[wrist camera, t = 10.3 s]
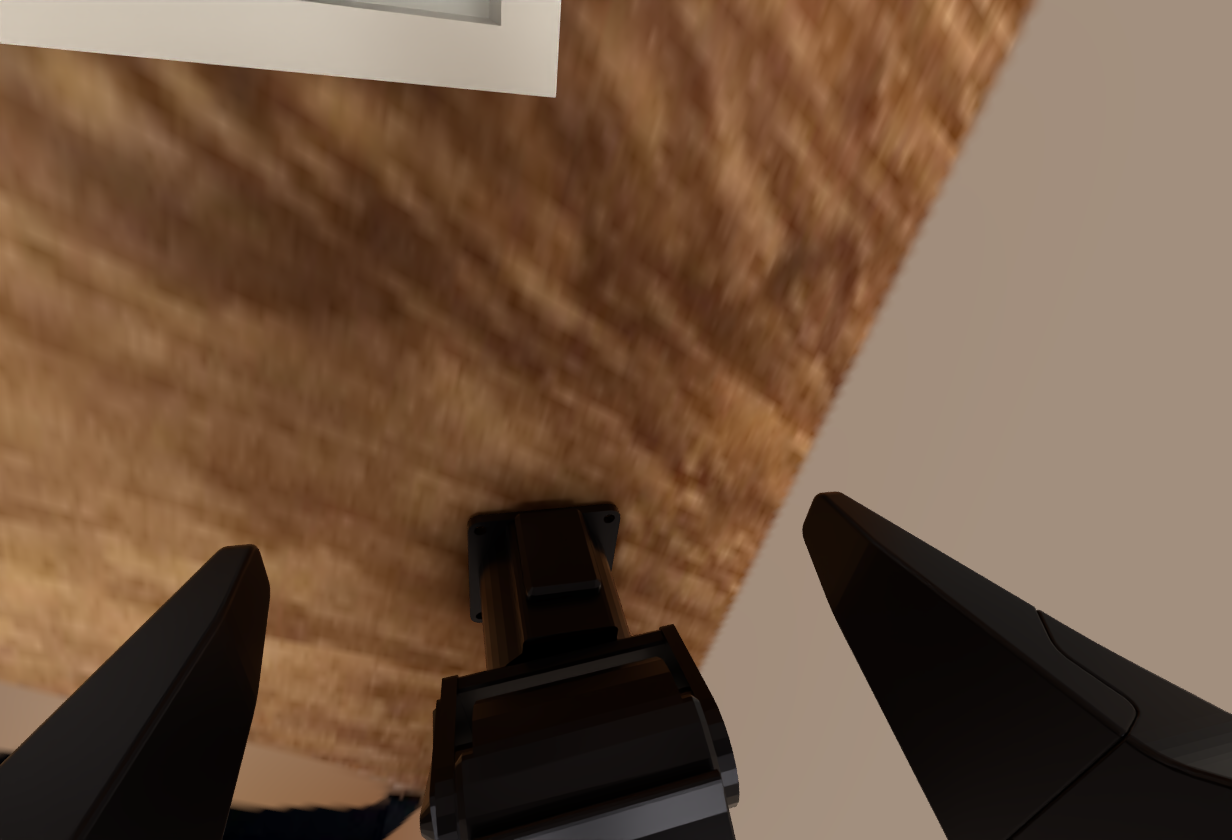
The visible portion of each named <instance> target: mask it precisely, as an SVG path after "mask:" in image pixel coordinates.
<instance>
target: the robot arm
mask: <svg viewBox="0 0 1232 840" xmlns="http://www.w3.org/2000/svg"><path fill="white" fill-rule="evenodd" d="M607 515H610V516H608V517H605V516H607ZM619 522H620V513H619V511H618V508H617V507H616V506H615V505H613V504H604V505H593V506H581V507H569V508H558V509H546V510H535V511H523V512H512V513H500V514H489V515H479V516H475V517H473V518H471V519H470V520H469V521H468V525H467V529H468V562H469V595H470V617H471V620H472V621H474V622H477V623H482V622H483V633H484V644H485V656H486V667H487V671H483V672H478V673H474V674H470V675H466V676H462V677H458V675H455V676H450V677H446V678H442V687H441V699H440V700H437V703H436V709H435V710H434V711H433V753H432V763H431V768H430V772H429V777H428V781H427V786H426V790H425V795H424V799H423V804H422V808H421V814H420V830H421V834H422V836H423V837H424V838H425V839H426V840H736V839H735V835H734V830H733V825H732V821H731V817H730V812H729V808H732V807H736V806H737V804H738V802H739V782H738V775H737V768H736V764H735V760H734V755H733V751H732V747H731V744H730V740H729V736H728V734H727V730H726V727H725V724H724V721H723V719H722V716H721V714H720V711H719V709H718V706H717V704H716V703H715V700H714V698H713V696H712V695H711V692H710V691H709V689H708V687H707V685H706V683H705V681H704V680H703V678H702V676H701V674H700V672H699V670H698V668H697V667H696V665H695V663H694V661H693V659H692V657H691V655H690V654H689V652H688V650H687V648H686V646H685V644H684V643H683V641H682V639H681V637H680V635H679V633H678V631H677V630H676V628H675V626H674V624H671V625H667V626H662V627H660V628H659V630H656V631H652V632H647V633H643V634H639V635H635V636H631V635H630V632H629V629H628V625H627V622H626V619H625V616H624V612H623V609H622V606H621V603H620V600H619V596H618V593H617V590H616V587H615V583H614V580H613V577H612V574H611V571H612V565H613V559H614V553H615V546H616V540H617V534H618V528H619ZM480 526H482V527H483V528H477V527H480ZM802 530H803V538H804V541H805V544H806V546H807V549H808V551H809V554H810V557H811V559H812V562H813V564H814V567H815V569H816V572H817V575H818V577H819V580H820V582H821V585H822V587H823V590H824V592H825V595H826V598H827V600H828V603H829V605H830V607H831V610H832V612H833V614H834V616H835V619H836V621H837V623H838V625H839V627H840V629H841V631H842V633H843V635H844V637H845V639H846V640H847V643H848V645H849V646H850V648H851V650H852V652H853V654H854V656H855V658H856V660H857V662H858V664H859V666H860V668H861V670H862V672H863V674H864V676H865V678H866V680H867V682H868V684H869V686H870V688H871V690H872V691H873V694H874V696H875V698H876V699H877V701H878V703H879V705H880V707H881V709H882V711H883V713H884V715H885V717H886V719H887V721H888V723H889V725H890V727H891V729H892V731H893V733H894V735H895V737H896V739H897V741H898V742H899V745H900V746H901V749H902V751H903V752H904V754H905V756H906V758H907V760H908V762H909V764H910V766H911V768H912V770H913V772H914V774H915V776H916V778H917V780H918V782H919V784H920V786H921V788H922V790H923V792H924V794H925V795H926V798H927V800H928V802H929V804H930V806H931V808H932V810H933V811H934V813H935V815H936V817H937V819H938V821H939V823H940V825H941V827H942V829H943V831H944V833H945V835H946V837H947V839H948V840H1232V714H1230V713H1228V712H1226V711H1224V710H1222V709H1220V708H1218V707H1216V706H1215V705H1213V704H1211V703H1209V702H1207V701H1205V700H1203V699H1201V698H1199V697H1197V696H1196V695H1194V694H1192V693H1190V692H1188V691H1186V690H1184V689H1182V688H1180V687H1178V686H1176V685H1175V684H1172V683H1171V682H1169V681H1167V680H1165V679H1163V678H1161V677H1159V676H1157V675H1156V674H1154V673H1152V672H1150V671H1148V670H1146V669H1144V668H1142V667H1140V666H1138V665H1136V664H1135V663H1133V662H1131V661H1129V660H1127V659H1125V658H1123V657H1122V656H1119V655H1118V654H1116V653H1114V652H1112V651H1110V650H1109V649H1107V648H1105V647H1103V646H1101V645H1099V644H1097V643H1096V642H1094V641H1092V640H1090V639H1088V638H1087V637H1085V636H1083V635H1082V634H1080V633H1078V632H1076V631H1075V630H1073V629H1071V628H1069V627H1068V626H1066V625H1064V624H1062V623H1061V622H1059V621H1057V620H1055V619H1054V618H1052V617H1051V616H1049V615H1047V614H1045V613H1044V612H1042V611H1041V610H1036V609H1035V607H1034V606H1032V605H1030V604H1029V603H1027V602H1025V601H1024V600H1022V599H1020V598H1019V597H1017V596H1015V595H1013V594H1012V593H1010V592H1008V591H1006V590H1005V589H1003V588H1002V587H1000V586H998V585H997V584H995V583H993V582H991V581H990V580H988V579H986V578H985V577H983V576H981V575H980V574H978V573H976V572H974V571H973V570H971V569H969V568H968V567H966V566H964V565H963V564H961V563H959V562H958V561H956V560H954V559H952V558H951V557H949V556H948V555H946V554H944V553H942V552H941V551H939V550H937V549H936V548H934V547H932V546H930V545H929V544H927V543H925V542H924V541H922V540H921V539H919V538H917V537H915V536H914V535H912V534H910V533H909V532H907V531H905V530H904V529H902V528H900V527H899V526H897V525H895V524H893V523H892V522H890V521H888V520H887V519H885V518H883V517H882V516H880V515H878V514H876V513H875V512H873V511H871V510H870V509H868V508H866V507H865V506H863V505H861V504H860V503H858V502H856V501H854V500H853V499H851V498H849V497H848V496H846V495H844V494H843V493H840V492H825V493H819V494H818V495H816V496H815V497H814V499H813V502H812V504H811V506H810V509H809V511H808V514H807V517H806V519H805V521H804V524H803V529H802ZM269 602H270V584H269V580H268V577H267V573H266V570H265V567H264V564H263V561H262V557H261V554H260V551H259V549H258V548H257V546H255V545H253V544H246V545H235V546H226V547H223V548H221V549H220V550H219V551H217V552H216V553H215V554H214V555H213V556H212V557H211V558H210V559H209V560H208V561H207V562H206V563H205V564H204V565H203V566H202V567H201V568H200V569H199V570H198V571H197V572H196V573H195V574H194V575H193V576H192V577H191V578H190V579H189V580H188V581H187V582H186V583H185V584H184V585H183V586H182V587H181V588H180V589H179V590H178V591H177V592H176V593H175V594H174V595H173V596H172V597H171V598H170V599H168V600H167V601H166V602H165V603H164V604H163V605H162V606H161V607H160V608H159V609H158V610H157V611H156V612H155V613H154V614H153V615H152V616H151V617H150V618H149V619H148V620H147V621H146V622H145V623H144V624H143V625H142V626H141V627H140V628H139V629H138V630H137V631H136V632H135V633H134V634H133V635H132V636H131V637H130V638H129V639H128V640H127V641H126V642H125V643H124V644H123V645H122V646H121V647H120V648H119V649H118V650H117V651H116V652H115V653H114V654H113V655H112V656H111V657H110V658H109V659H107V660H106V661H105V662H104V663H103V664H102V665H101V666H100V667H99V668H98V669H97V670H96V671H95V672H94V673H93V674H92V675H91V676H90V677H89V678H88V679H87V680H86V681H85V682H84V683H83V684H82V685H81V686H80V687H79V688H78V689H77V690H76V691H75V692H74V693H73V694H72V695H71V696H70V697H69V698H68V699H67V700H66V701H65V702H64V703H63V704H62V705H61V706H60V707H59V708H58V709H57V710H56V711H55V712H54V713H53V714H52V715H51V716H50V717H49V718H48V719H46V720H45V722H44V723H42V725H40V726H39V727H38V728H37V729H36V730H35V731H34V732H33V733H32V734H31V735H30V736H29V737H28V738H27V739H26V740H25V741H24V742H23V743H22V744H21V745H20V746H19V747H18V748H17V749H16V750H15V751H14V752H13V753H12V754H11V755H10V756H9V757H8V758H7V759H6V760H5V761H4V762H3V763H2V764H1V765H0V840H222V837H223V833H224V829H225V826H226V822H227V818H228V814H229V810H230V806H231V802H232V798H233V794H234V790H235V786H236V782H237V778H238V774H239V770H240V766H241V762H242V759H243V755H244V751H245V747H246V743H247V739H248V735H249V731H250V727H251V723H252V719H253V715H254V710H255V706H256V701H257V695H258V688H259V681H260V673H261V665H262V657H263V649H264V641H265V633H266V626H267V618H268V610H269Z"/></svg>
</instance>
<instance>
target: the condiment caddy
mask: <svg viewBox="0 0 1232 840" xmlns="http://www.w3.org/2000/svg"><path fill="white" fill-rule="evenodd" d="M560 11H561V0H0V43H1V44H11V45H22V46H32V47H42V48H52V49H62V50H73V51H83V52H93V53H103V54H114V55H124V56H134V57H144V58H155V59H165V60H175V61H185V62H195V63H206V64H216V65H226V66H236V67H247V68H257V69H267V70H277V71H288V72H298V73H308V74H318V75H328V76H339V77H349V78H359V79H369V80H380V81H390V82H400V83H410V84H421V85H431V86H441V87H451V88H462V89H472V90H482V91H492V92H502V93H513V94H523V95H533V96H543V97H554V98H556V85H557V66H558V48H559V30H560Z"/></svg>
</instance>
